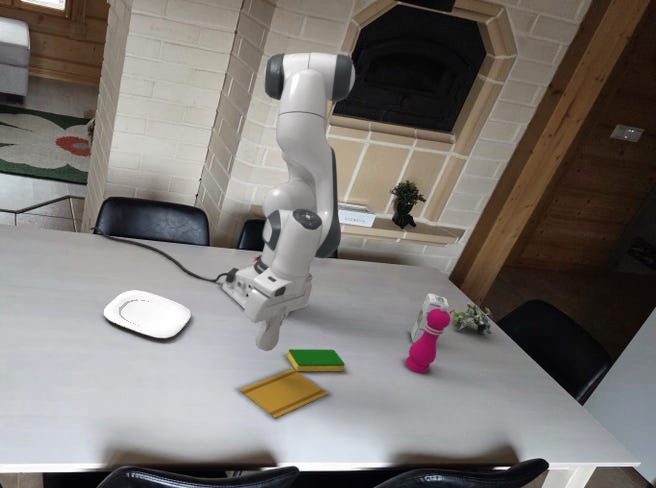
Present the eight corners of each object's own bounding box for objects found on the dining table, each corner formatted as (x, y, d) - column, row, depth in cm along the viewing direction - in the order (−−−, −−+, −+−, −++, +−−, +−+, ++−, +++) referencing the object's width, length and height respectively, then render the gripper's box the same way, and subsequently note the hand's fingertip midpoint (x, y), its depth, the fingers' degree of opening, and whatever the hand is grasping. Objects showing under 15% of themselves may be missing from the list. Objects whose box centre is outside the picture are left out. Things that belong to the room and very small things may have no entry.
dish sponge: (286, 356, 175) (288, 348, 173) (331, 356, 179) (333, 349, 177) (296, 371, 169) (298, 364, 168) (342, 371, 173) (345, 364, 172)
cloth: (239, 390, 157) (239, 389, 157) (292, 369, 170) (292, 368, 169) (275, 418, 151) (275, 417, 150) (327, 394, 163) (327, 393, 163)
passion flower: (470, 346, 211) (502, 333, 201) (446, 341, 206) (478, 327, 196) (463, 315, 215) (494, 300, 205) (440, 309, 210) (470, 294, 200)
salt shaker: (251, 338, 164) (265, 294, 157) (272, 340, 165) (287, 297, 158) (255, 351, 159) (270, 307, 152) (277, 354, 160) (293, 310, 153)
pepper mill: (428, 364, 185) (457, 304, 174) (428, 377, 179) (458, 315, 168) (403, 356, 186) (431, 296, 175) (403, 368, 180) (431, 307, 169)
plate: (94, 320, 172) (94, 315, 171) (129, 290, 190) (129, 285, 189) (168, 348, 168) (169, 342, 167) (196, 314, 185) (198, 309, 184)
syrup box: (430, 347, 194) (450, 305, 186) (411, 342, 194) (430, 300, 186) (428, 338, 198) (447, 297, 190) (409, 333, 199) (427, 292, 191)
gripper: (304, 265, 159) (287, 312, 167) (248, 280, 147) (233, 330, 155) (323, 277, 156) (305, 324, 164) (268, 293, 143) (251, 344, 151)
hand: (270, 327), depth 159 cm, fingers closed on salt shaker, 3 cm apart
